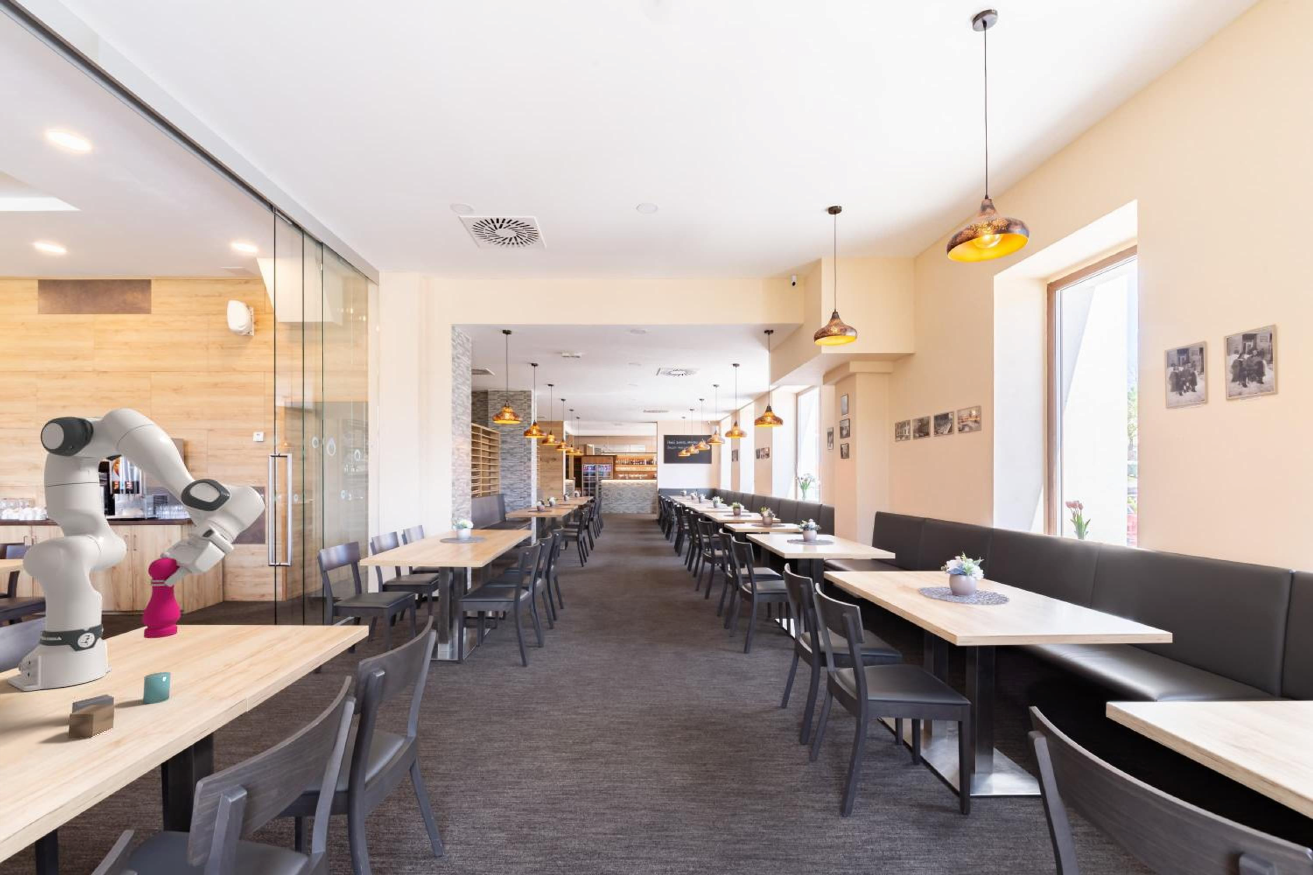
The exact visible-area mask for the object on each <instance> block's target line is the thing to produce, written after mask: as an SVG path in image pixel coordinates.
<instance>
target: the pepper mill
mask: <svg viewBox="0 0 1313 875" xmlns="http://www.w3.org/2000/svg"><path fill="white" fill-rule="evenodd" d="M169 556H170V554H169V553H168V552H165V551H163V552H161V554H160V556H159V557H161V559H158V558H157V559H155V560H153V561H152V562H151V563H149V565H148V569H147V572H148V575H149V576H150V577H151V579H149V580H150V584H149V585H150V586H151V587H152V588H151V589H152V591H151V597H150V600H149V601H148V604H147V606H146V608H145V609H144V611H143V614H142V616H141V617H142V618H141V621H142V624H143V625H145V626H146V627H147V628H145V629H144V630H143V638H145V639H161V638H167V637H171V636H174V635H177V633H178V625H177V624H176V623H177V622H178V621H179V619H180V618H181V609H180V606H179V604H178V602H177V599H176V598H175V590H174V588H175V584H177V582H178V581H177V582H176V583H175V584H174V585H173V586H171V587H169V586H166V585H165V584H164V583H163V581H164V580H165V579H166V578H167V577H168V576H169V577H170V576H171V575H173V574H174V573H175V572H176V571H177V570H178V569H179V568H180V566H177V564H176V563H177V561H176V560H175V559H172V558H168V557H169Z"/></svg>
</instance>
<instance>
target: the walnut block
mask: <svg viewBox="0 0 1313 875" xmlns="http://www.w3.org/2000/svg"><path fill="white" fill-rule="evenodd" d="M114 720H115V704H113V705H91V706H88V707H86V708H83V709H81V710H79V711H76V712H74V713H72V712H71V713H70V714H69V720H68V722H69V724H68V737H67V738H68V739H81V738H80V737H93V736H95V735H97V734H99V735H101V734H100V733H102V732H104V731H106V732H108V731H110V730H112V729H114ZM111 728H112V729H111ZM109 729H110V730H109ZM107 730H108V731H107ZM104 733H105V732H104ZM102 734H103V733H102ZM97 736H98V735H97ZM78 737H79V738H78ZM95 737H96V736H95ZM93 738H94V737H93Z"/></svg>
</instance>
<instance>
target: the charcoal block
mask: <svg viewBox="0 0 1313 875" xmlns="http://www.w3.org/2000/svg"><path fill="white" fill-rule="evenodd" d="M114 700H115V699H114V696H111V695H109V694H106V693H105V694H101V695H99V696H94V697H90V698H86V699H82V700H79V701H74V702H71V703H72V706H71V713H74V712H76V711H79V710H81V709H83V708H86V707H88V706H91V705H115V703H114Z"/></svg>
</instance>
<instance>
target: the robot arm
mask: <svg viewBox="0 0 1313 875" xmlns="http://www.w3.org/2000/svg"><path fill="white" fill-rule="evenodd" d="M40 442H41V445H42V447H43V449H45V451H46V452H48V454H47V455H46V459H45V464H44V472H43V485H44V486H43V488H44V499H45V500H44V501H45V512H46V513H45V514H46V516H47V517H48V518H49V519H50V520H51V521H53V522H55V523H56V524H57V525H58V526H59V528H60V530H61V531H62V533H63V535H64V536H59V537H53V538H50V539H47V540H44V541H41V542H38V543H36V544H33V545H32V546H30V547H29V548H28V549H27V550H26V552H25V554H24V555H23V559H22V566H23V570H24V571H25V572H26V574H27V575H29V576H30V577H31V578H33V579H35V580H36V581H37V582H38V584H39V585H40V587H41V589H42V593H43V595H44V599H45V622H44V630H42V631H41V630H40V633H41V634H39V636H40V638H39V642H38V644H39V645H37V646H36V647H35V648H34V649H33V650H31V652H30V653H28V654H27V655H26V656H24V657H23V658H22V660H21V661H20V662H19V663H18V669H17V670H18V671H19V672H20V674H19V673H18V674H16V675H13V676H11V677H8V678H7V683H8V684H10V685H11V686H14V687H15V688H18V689H19V690H21V691H23V692H31V691H37V690H44V689H57V688H62V687H70V686H75V685H80V684H84V683H88V682H91V681H96V680H98V679H100V678H103V677H104V676H106V675H107V673H109V672H110V671H112V670H113V666H112V665H108V649H107V648H108V647H107V642H106V641H105V640H103V639H102V638H103V632H104V624H103V623H102V614H103V613H102V612H103V611H102V610H103V595H102V594H101V592H99V591H98V590H95V588H94V586H93V585H92V583H91V579H90V574H93V573H97V572H102V571H106V570H108V569H110V568H112V567H114V566H117V565H118V564H120V563H121V562H122V561H123V560H124V559H125V557H126V555H127V553H128V552H127V549H128V548H127V543H126V542H125V540H124V539H123V538H122V537H121V536H119V535H117V534H116V533H115V532H114V530H113V529H112V527H111V525H110V524H109V521H108V520H107V518H106V515H105V513H104V509H103V504H102V495H101V494H102V493H101V484H100V475H99V466H100V463H101V462H102V461H103V460H107V461H110V462H113V461H115V460H118V459H120V458H124V459H125V460H126V461H128V462H129V463H130V464H131V465H133V466H134V467H135V468H137V469H138V470H140V472H143V473H144V474H146V475H147V476H149V478H151V479H153V480H154V481H155V482H157V484H159V485H160V486H162V487H163V488H164V489H166V490H167V491H168V492H169V493H170V494H171V495H172V496H173V498H175V499H176V500H177V501H178V502H179V503H180V504H181V505H182V506H183V508H184V509H185V511H186V512H187V514H188V516H189V517H190V520H191V521H192V523H193V525H194V528H192V529H191V530H190V531H189V532H188V533H187V536H188V537H189V538H188V539H180V540H178V541H177V542H175V543H174V544H173V545H172V546H170V547H169V548H168V549H167V550H165V551H164V552H168V553H169V554H170V556H169V557H168V558H172V559H175V560H176V561H177V563H176V564H177V566H180V568H179V569H178V570H177V571H176V572H175V573H174V574H173V575H171V576H170V577H169V576H168V577H167V578H166V579H165V580H164V581H163V583H164V584H165V585H166V586H169V587H171V586H173V585H174V586H175V584H177V583H176V582H179V581H180V580H182V579H184V578H186V577H187V576H188V575H189V574H192V575H197V576H202V575H203V574H205V573H207V572H208V571H210V570H211V569H212V568H213V567H214V566H215V565H217V564H218V563H219V562H220V561H221V560H222V559H223V558H224V557H225V555H230V554H231V553H232V552H233V551H234V549H235V547H234V546H233V545H232V543H233V542H235V540H236V539H237V537H238V535H240V533H242V532H244V531H245V530H247V529H249V527H251V525H252V524H253V523H254V522H255V521H256V520H257V519H258V518H259V517H260V516H261V515H262V513H263V512H264V510H265V509H266V502H265V499H264V496H262V494H261V493H260V492H259V491H258V490H257V489H255V488H254V487H253V486H251V485H239V486H238V485H237V486H236V485H230V484H225V483H222V482H218V481H216V480H215V479H211V478H202V479H197V480H196V479H194V478H193V476H192V475H191V473H190V472H189V470H188V469H187V467H186V465H185V463H184V461H183V459H182V457H181V454H180V451H179V450H178V448H177V446H176V445H175V443H174V441H173V440H172V439H171V437H170V435H168V433H167V432H166V431H165V430H164V429H162V428H161V427H160V426H159V425H158V424H156V422H154V421H153V420H152V419H150V418H149V417H147V416H145V415H144V414H142V413H140V412H138V411H137V410H135V409H132V408H128V407H127V408H126V407H125V408H123V407H122V408H121V407H120V408H116V409H114V410H111V411H109V412H108V413H106V414H105V415H104V416H103V417H101V416H91V417H89V416H88V417H87V416H81V417H80V416H79V417H76V416H62V417H56V418H52V419H50V420H48V421H47V422H45V424H44V425H43V427H42V429H41V432H40ZM157 559H161V557H160V556H158V558H157Z"/></svg>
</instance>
